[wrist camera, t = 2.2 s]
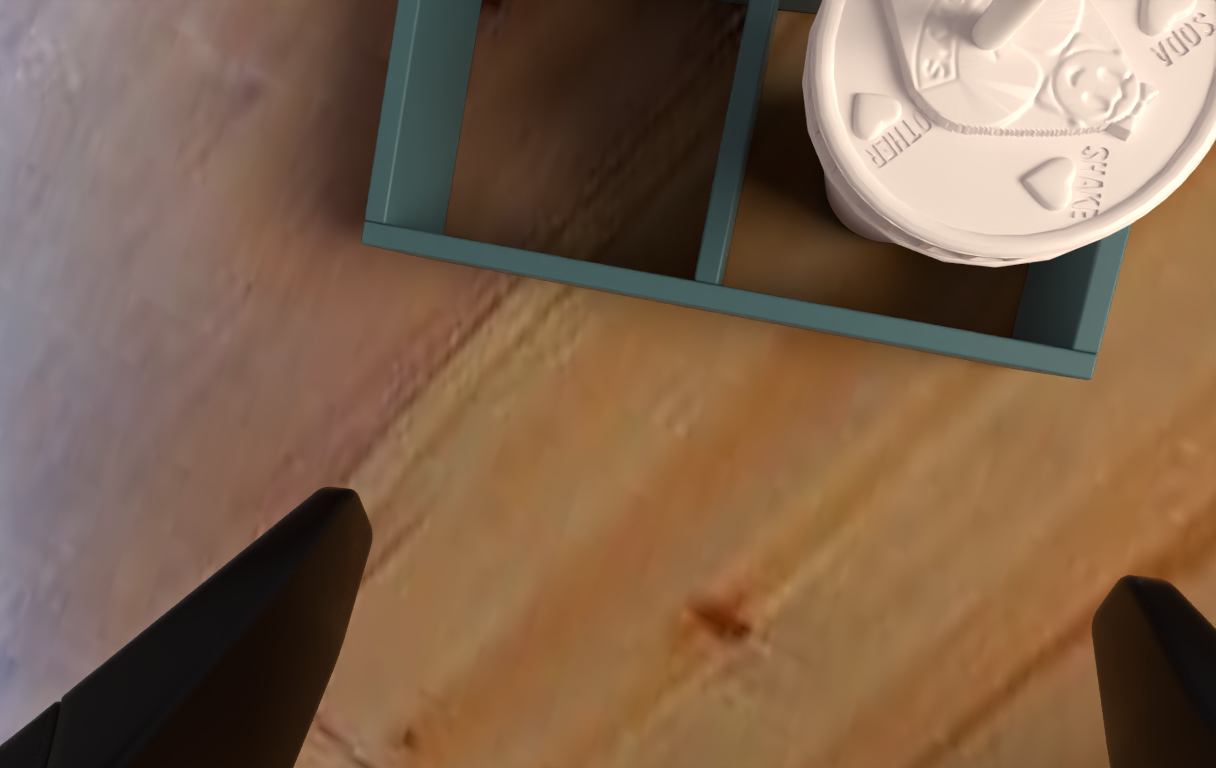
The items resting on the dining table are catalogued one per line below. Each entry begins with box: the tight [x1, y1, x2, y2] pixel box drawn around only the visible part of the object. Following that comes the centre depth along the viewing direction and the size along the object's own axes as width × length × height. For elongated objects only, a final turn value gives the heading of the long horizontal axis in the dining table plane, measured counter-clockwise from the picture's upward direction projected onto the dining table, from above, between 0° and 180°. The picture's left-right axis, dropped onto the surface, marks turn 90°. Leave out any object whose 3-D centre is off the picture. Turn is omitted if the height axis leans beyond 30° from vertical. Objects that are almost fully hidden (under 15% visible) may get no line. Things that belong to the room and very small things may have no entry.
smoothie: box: [802, 0, 1216, 267], centre depth 14 cm, size 6×6×14 cm
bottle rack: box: [361, 0, 1132, 380], centre depth 20 cm, size 9×18×4 cm, turn 80°
